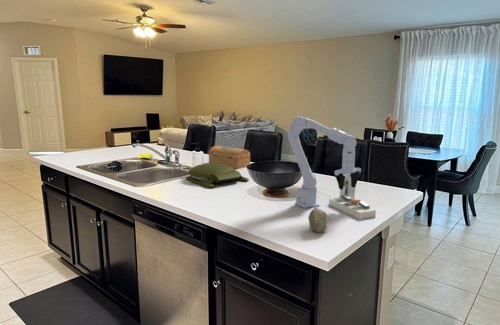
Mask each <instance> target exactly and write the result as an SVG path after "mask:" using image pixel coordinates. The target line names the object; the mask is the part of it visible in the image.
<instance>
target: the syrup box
mask: <svg viewBox="0 0 500 325" xmlns="http://www.w3.org/2000/svg"><path fill="white" fill-rule="evenodd" d="M343 176H345V180H344V186H343V189H342V190H341V189H339V197H338V198H340V197H342V195H345V194H346V195H348V196H349V197H351V198H352V199H355V195H356V187H355V188H354V187H351V175H350V173H348V174H343Z"/></svg>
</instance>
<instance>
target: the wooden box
mask: <svg viewBox="0 0 500 325" xmlns="http://www.w3.org/2000/svg"><path fill="white" fill-rule="evenodd" d="M209 163H217V164H224V165H228V166H231V167H233V168H234V169H235V170H240V169H244V168H247V167H246V166H247V165H249V164H250V165H251V152H250V151H249V150H248V149H244V148H238V147H229V146H222V145H215V146H212V147H211V148H210V149H209V150H208V164H209Z"/></svg>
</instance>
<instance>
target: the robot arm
mask: <svg viewBox="0 0 500 325" xmlns="http://www.w3.org/2000/svg"><path fill="white" fill-rule="evenodd" d="M304 129H306V130H308V129H313V130H316V131H318V132H320V133H322V134H325V135H327V138H328V139H329V140H331V141H333V142H335V143H337V144H340V145H343V147H342V148H343V149H342V159H341V161H342V162H341V168H340V169H337V170H334V177H335V179H336V182H337V185H338V189H339V190H340V189H341V190H342V189H343V186H344V180H345V176H343V174H348V173H350V175H351V187H354V188H355V189H356V187H357V183H358V180H359V178H360V177H361V175H362V173H361V172H362V168H360V167H355V165H356V164H355V162H356V161H355V160H356V146H357V143H358V141H357V139H356V137H354V135H351V134H349V133H348V132H345V131H342V130H340V128H339V127H332V128H330V127H328V126H326V125H324V124H321V123H320V122H317V121H315V120H313V119H311V118H307V117H304V116H302V115H297V116H295V117H294V118H293V119H292V121H291V123H290V126H289V130H288V133H287V139H288V142H289V144H290V147H291V149H292V152H293V154H294V157H295V159H296V162H297V164H298V168H299V169H300V172H301V173H300V174H301V175H302V179H303V181H302V183H303V184H302V185H301V187H299V188H297V190H296V192H295V193H296V195H295V196H296V197H295V203H294V204H295V205H297V206H299V207H301V208H302V209H306V208H307V209H308V208H312V207H313V208H314V207H320V206H321V205H320V204H319V203H317V190H318V189H317V176H316V175H315V173H314V172H313V171H312V169H311V167H310V165H309V162H308V159H307V157H306V155H305V152H304V150H303V147H302V144H301V142H300V138H299V136H300V134H301V132H302V131H304Z"/></svg>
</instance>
